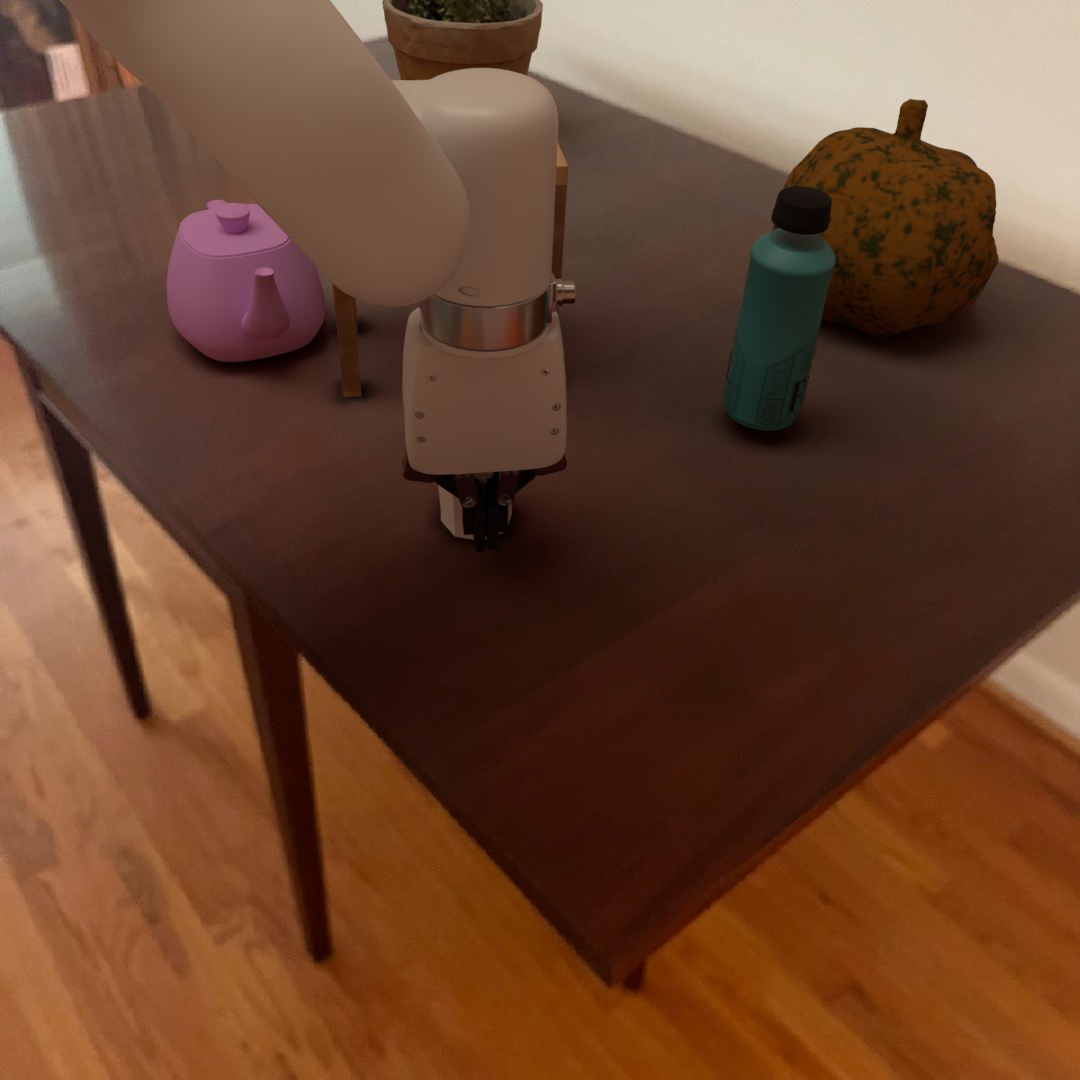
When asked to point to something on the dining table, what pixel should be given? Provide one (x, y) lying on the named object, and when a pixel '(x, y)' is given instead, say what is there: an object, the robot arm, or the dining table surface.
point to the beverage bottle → (781, 313)
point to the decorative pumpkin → (901, 225)
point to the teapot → (241, 285)
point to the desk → (347, 304)
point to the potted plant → (461, 35)
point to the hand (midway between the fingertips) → (484, 537)
